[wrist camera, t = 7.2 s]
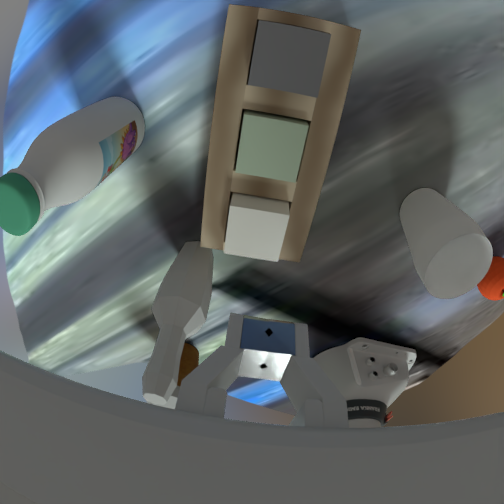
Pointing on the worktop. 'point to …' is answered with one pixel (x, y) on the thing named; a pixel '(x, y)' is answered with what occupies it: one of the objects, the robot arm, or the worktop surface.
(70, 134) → the milk bottle
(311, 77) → the charcoal key
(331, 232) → the worktop surface
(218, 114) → the oak key console
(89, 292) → the worktop surface
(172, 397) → the disposable coffee cup
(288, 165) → the sage green key
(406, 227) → the cup
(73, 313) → the worktop surface
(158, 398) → the faceted bottle
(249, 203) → the off-white key
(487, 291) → the clementine
